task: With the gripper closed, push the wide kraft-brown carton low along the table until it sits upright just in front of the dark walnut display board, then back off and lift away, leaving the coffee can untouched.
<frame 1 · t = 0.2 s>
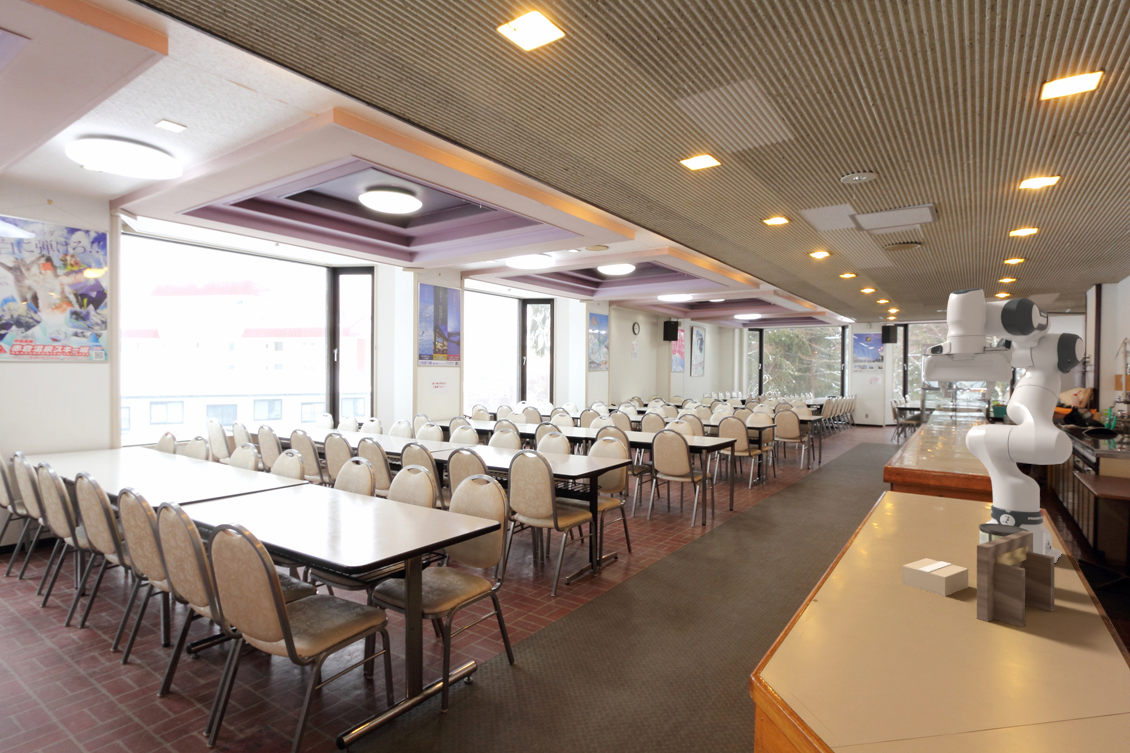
hand: (966, 398, 154), 47 cm above the table, tool pointing down, fingers open, 8 cm apart
coffee can: (1003, 582, 148), on the table
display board: (1006, 608, 130), on the table
carton: (935, 586, 145), on the table
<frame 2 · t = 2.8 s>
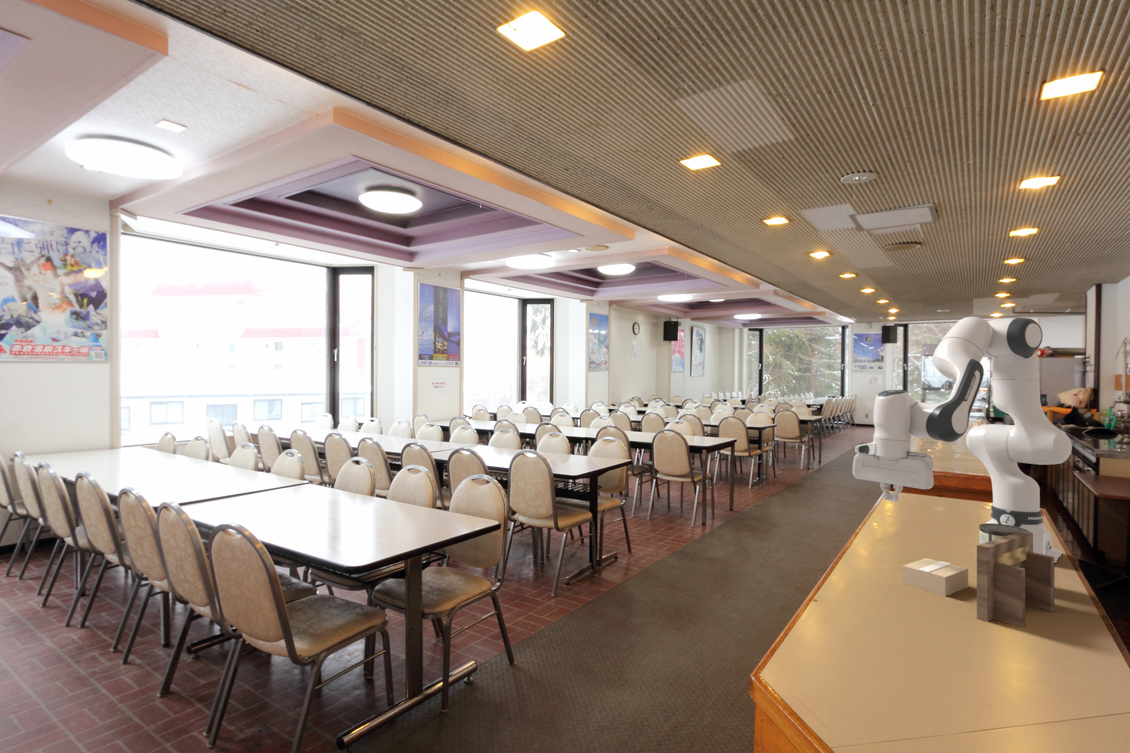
hand: (891, 500, 154), 20 cm above the table, tool pointing down, fingers closed
nothing on the table moved.
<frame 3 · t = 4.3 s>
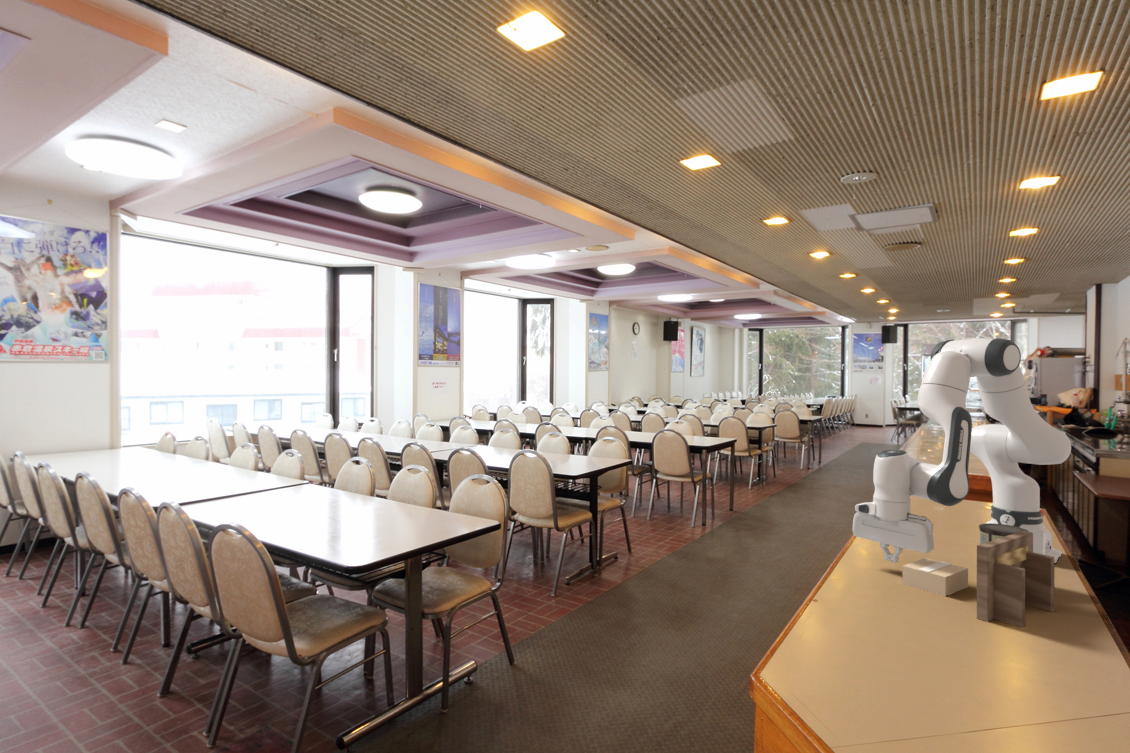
hand: (891, 560, 154), 3 cm above the table, tool pointing down, fingers closed
nothing on the table moved.
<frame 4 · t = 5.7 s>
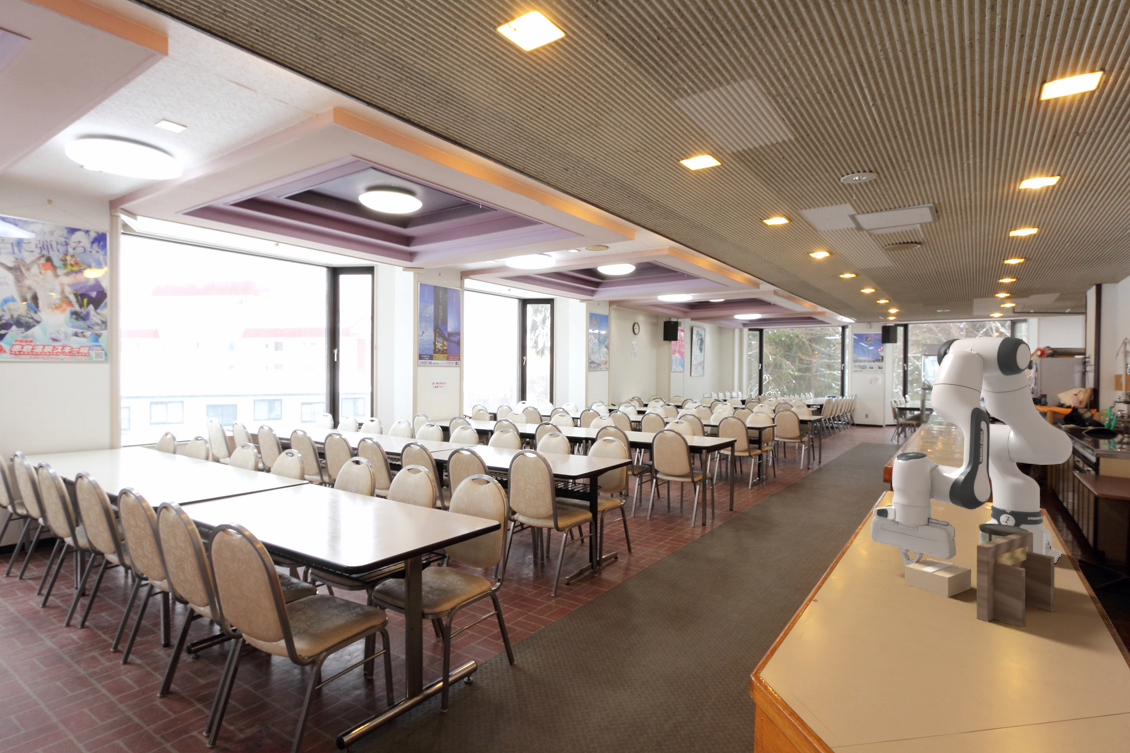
hand: (911, 566, 150), 3 cm above the table, tool pointing down, fingers closed
carton: (937, 587, 144), on the table, touching gripper
everything else where it was.
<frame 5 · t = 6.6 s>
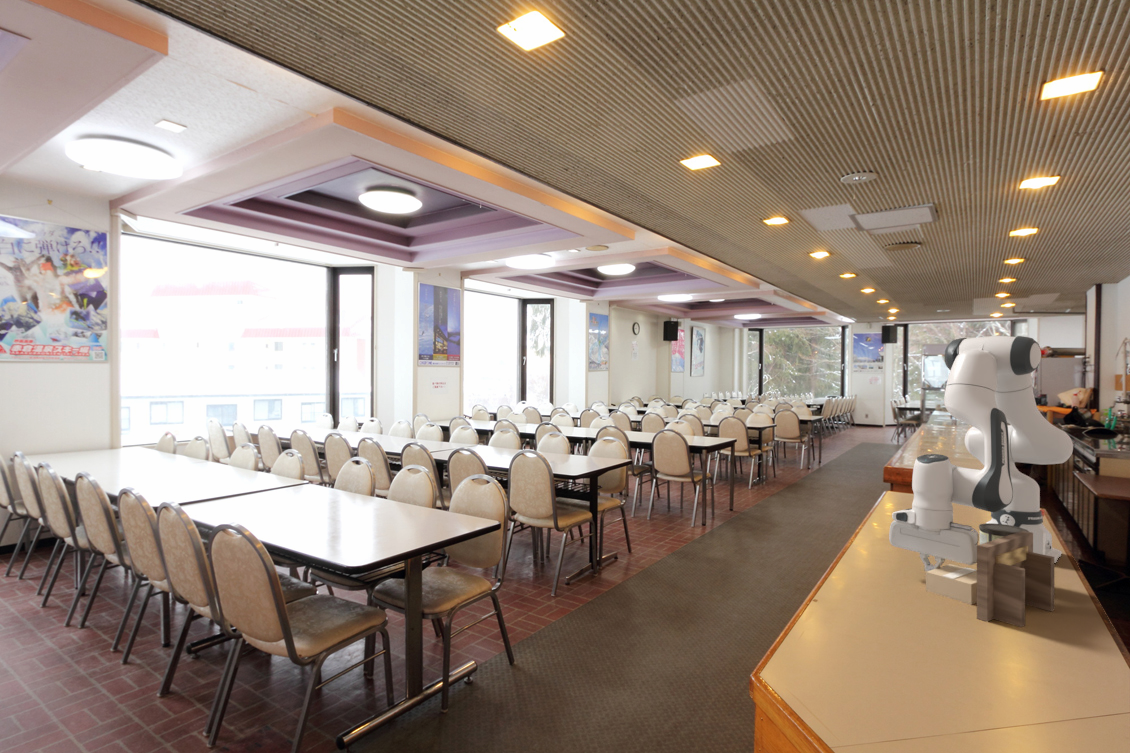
hand: (932, 572, 146), 3 cm above the table, tool pointing down, fingers closed
carton: (960, 593, 140), on the table, touching gripper
everything else where it was.
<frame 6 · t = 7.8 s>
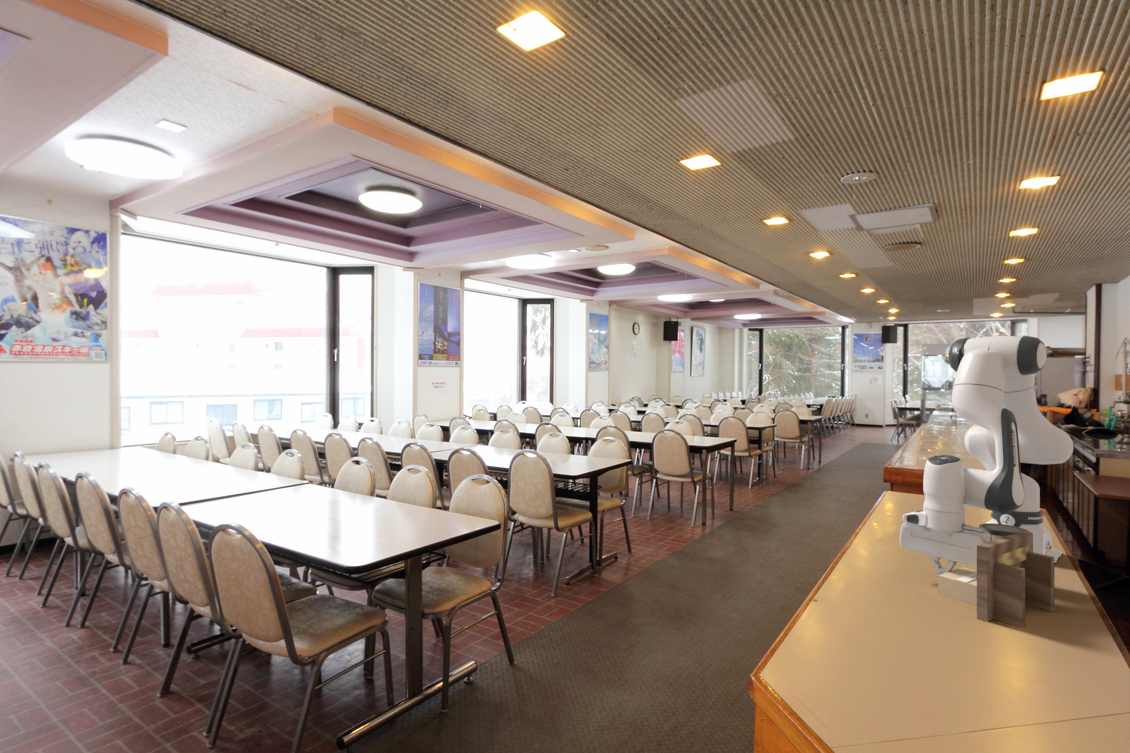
hand: (943, 575, 143), 3 cm above the table, tool pointing down, fingers closed
carton: (972, 597, 138), on the table
everything else where it was.
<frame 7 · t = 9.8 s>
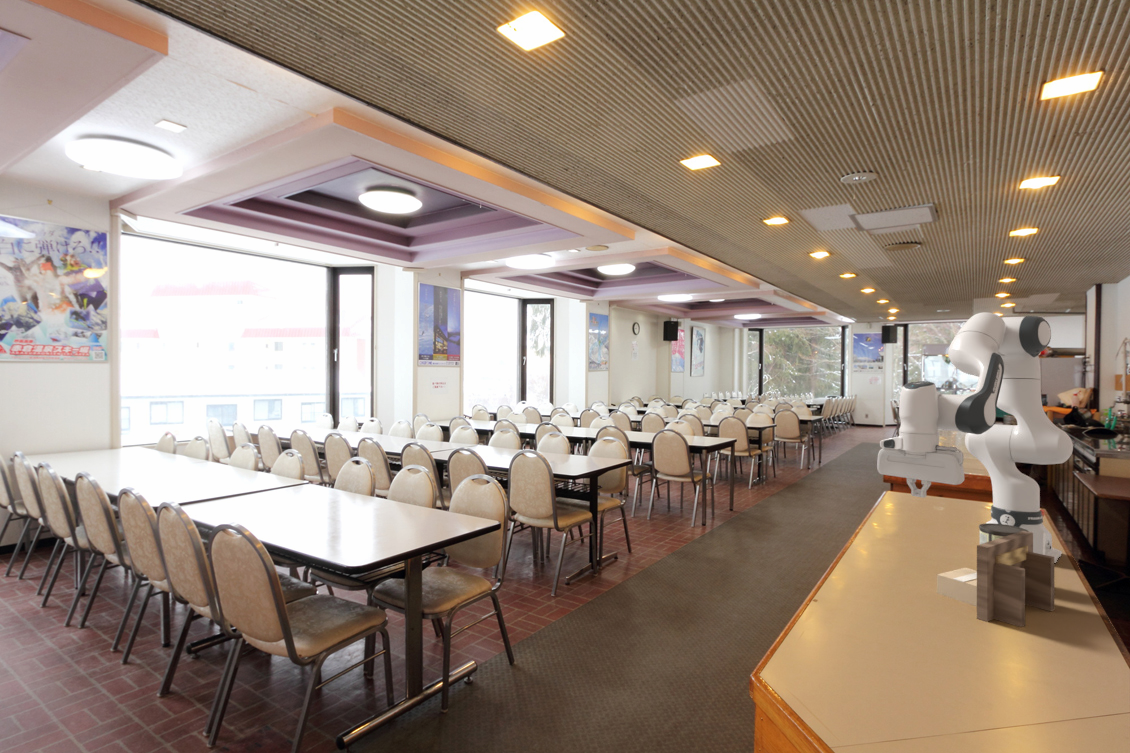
hand: (918, 496, 149), 22 cm above the table, tool pointing down, fingers closed
nothing on the table moved.
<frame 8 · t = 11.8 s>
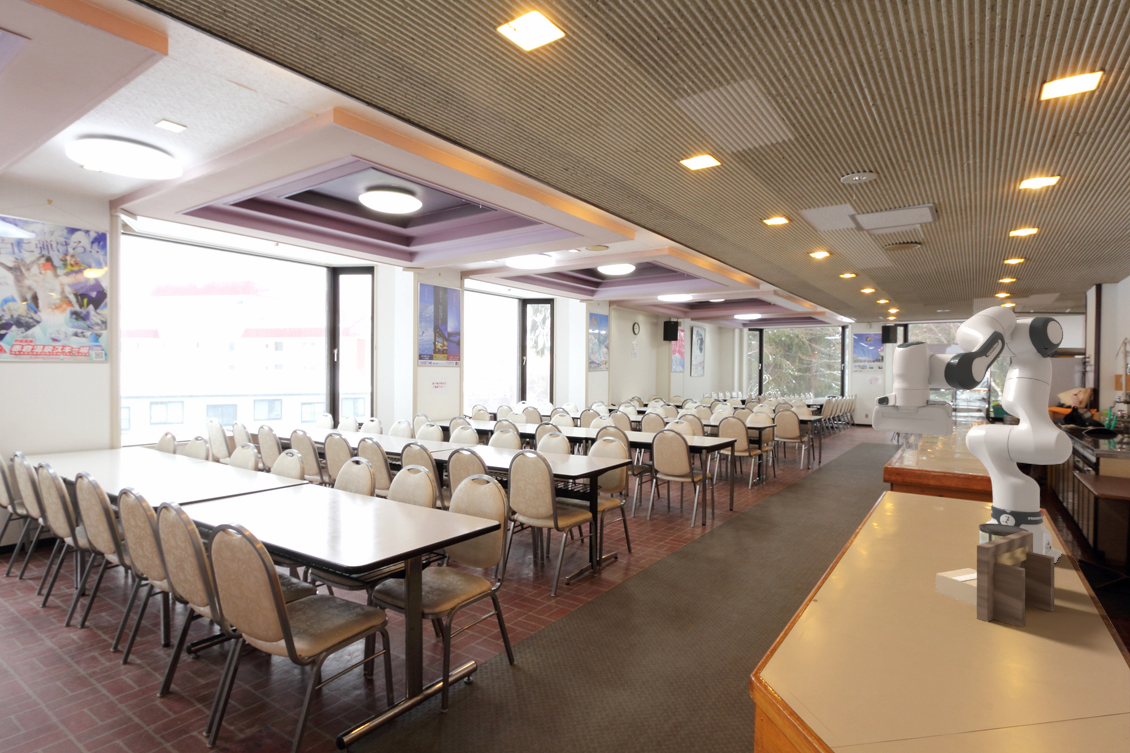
hand: (910, 449, 158), 33 cm above the table, tool pointing down, fingers closed
nothing on the table moved.
at the end: carton inside the target area (0.2 cm from its centre), on the table; carton tilted 0° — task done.
